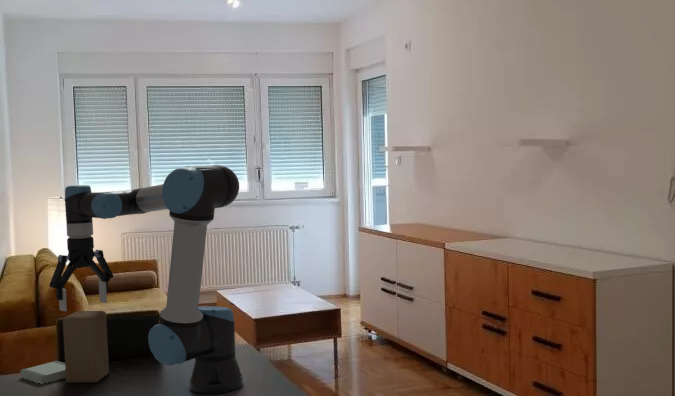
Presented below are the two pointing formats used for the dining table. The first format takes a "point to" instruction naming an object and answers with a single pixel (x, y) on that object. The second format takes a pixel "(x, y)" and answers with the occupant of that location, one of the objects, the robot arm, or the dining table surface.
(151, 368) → the dining table surface
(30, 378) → the dock
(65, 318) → the wooden block
